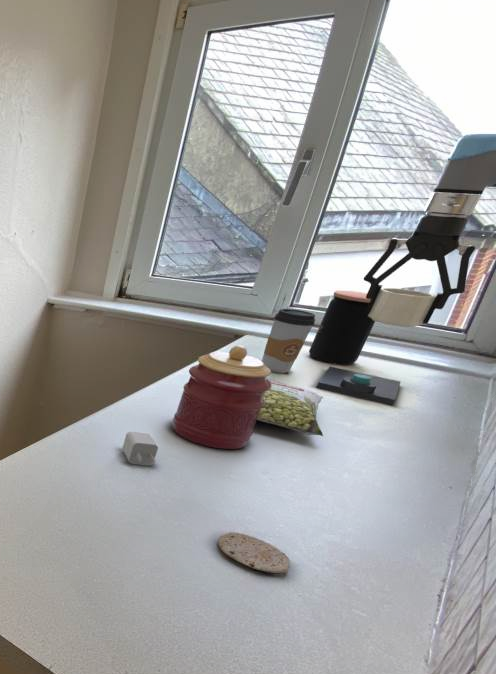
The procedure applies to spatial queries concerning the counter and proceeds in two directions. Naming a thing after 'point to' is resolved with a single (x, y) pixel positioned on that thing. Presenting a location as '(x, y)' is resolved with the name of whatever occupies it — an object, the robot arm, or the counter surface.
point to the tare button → (361, 379)
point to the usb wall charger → (140, 448)
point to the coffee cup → (287, 339)
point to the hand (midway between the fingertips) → (395, 317)
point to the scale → (360, 386)
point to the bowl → (401, 307)
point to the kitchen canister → (222, 399)
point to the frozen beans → (291, 408)
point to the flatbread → (254, 552)
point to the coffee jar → (343, 329)
